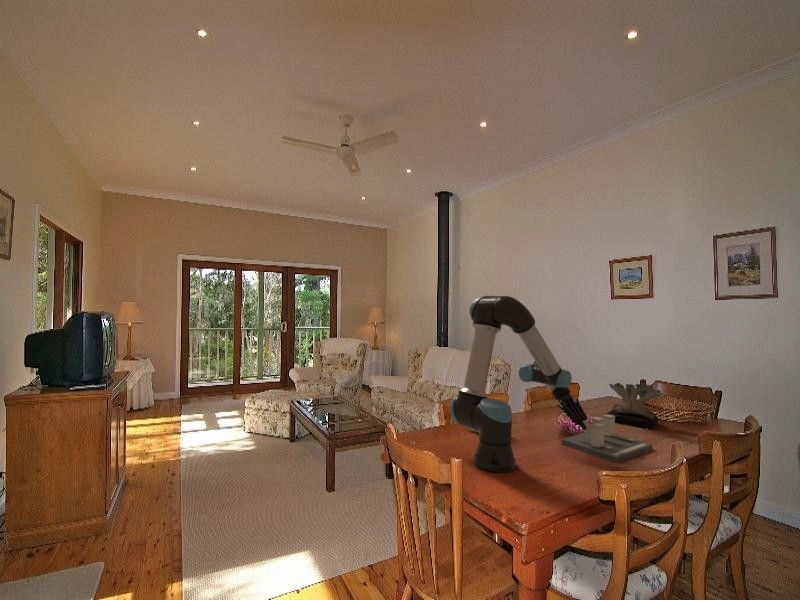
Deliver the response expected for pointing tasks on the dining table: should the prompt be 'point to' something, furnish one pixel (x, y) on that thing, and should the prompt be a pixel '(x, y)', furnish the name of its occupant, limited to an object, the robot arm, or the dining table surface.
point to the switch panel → (608, 446)
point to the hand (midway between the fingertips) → (592, 435)
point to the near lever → (597, 435)
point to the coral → (634, 405)
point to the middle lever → (597, 420)
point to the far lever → (609, 425)
